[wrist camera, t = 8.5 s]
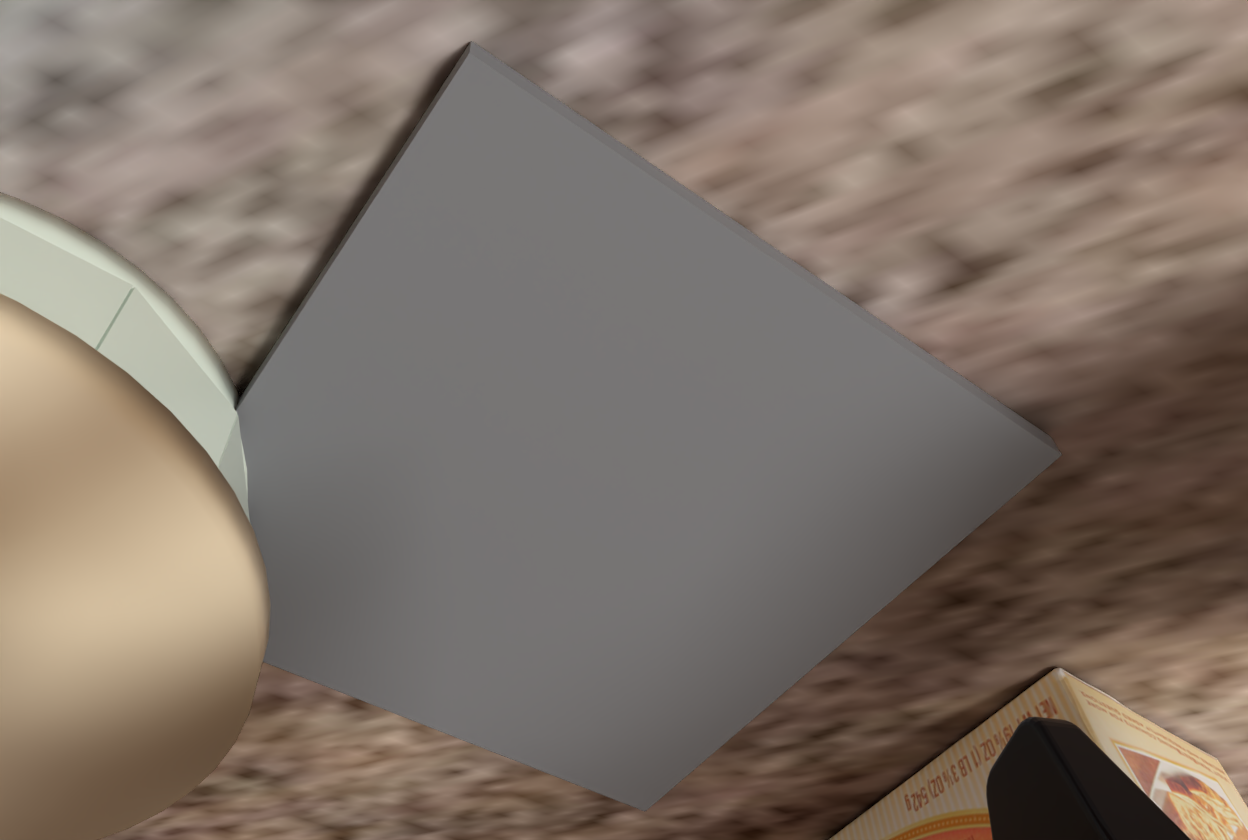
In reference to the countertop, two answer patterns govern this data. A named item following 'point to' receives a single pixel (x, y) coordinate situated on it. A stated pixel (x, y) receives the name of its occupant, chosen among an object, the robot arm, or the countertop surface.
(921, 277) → the countertop surface
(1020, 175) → the countertop surface
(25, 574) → the lid
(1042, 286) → the countertop surface
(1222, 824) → the coffeecake box
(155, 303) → the bowl
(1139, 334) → the countertop surface
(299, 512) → the plate
